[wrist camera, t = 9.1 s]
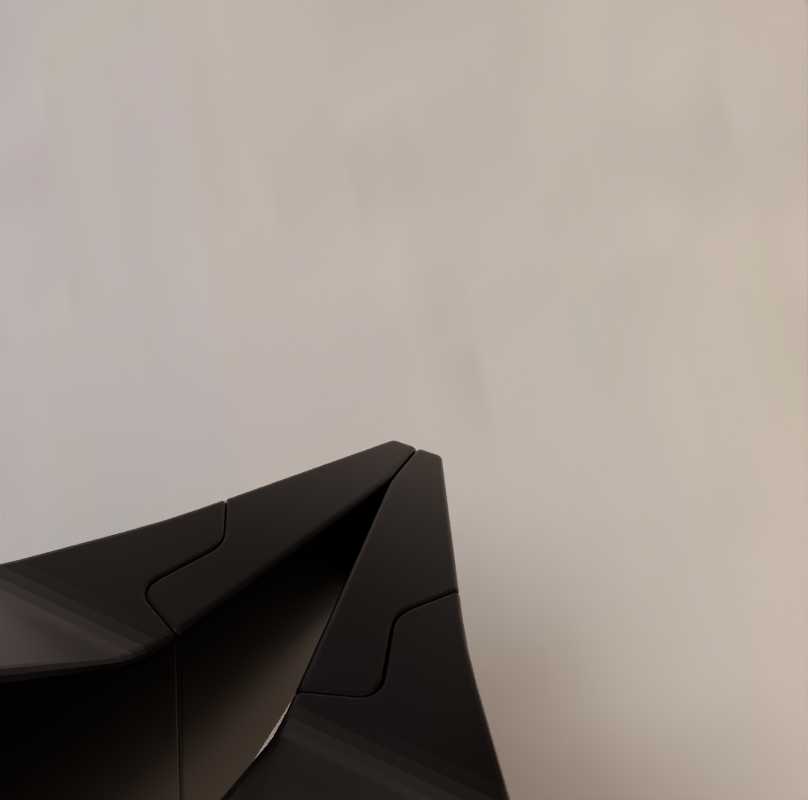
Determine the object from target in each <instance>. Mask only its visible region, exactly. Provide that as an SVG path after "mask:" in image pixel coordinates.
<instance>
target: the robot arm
mask: <svg viewBox="0 0 808 800" xmlns="http://www.w3.org/2000/svg"><path fill="white" fill-rule="evenodd" d="M458 594H459V590H458V582H457V574H456V566H455V558H454V550H453V543H452V535H451V527H450V519H449V511H448V504H447V496H446V488H445V480H444V472H443V464H442V459H441V457H440V456H438V455H436V454H433V453H430V452H427V451H424V450H417V451H416V449H415V448H414V447H412V446H409V445H406V444H403V443H400V442H398V441H390V442H387V443H384V444H381V445H379V446H376V447H373V448H370V449H367V450H364V451H362V452H359V453H356V454H353V455H350V456H348V457H345V458H342V459H339V460H336V461H334V462H331V463H328V464H325V465H322V466H319V467H317V468H314V469H311V470H308V471H305V472H303V473H300V474H297V475H294V476H291V477H288V478H286V479H283V480H280V481H277V482H274V483H272V484H269V485H266V486H263V487H260V488H258V489H255V490H252V491H249V492H246V493H243V494H241V495H238V496H235V497H232V498H229V499H227V501H226V503H225V502H224V501H220V502H218V503H215V504H212V505H209V506H206V507H204V508H201V509H198V510H195V511H192V512H189V513H186V514H183V515H180V516H176V517H173V518H170V519H167V520H164V521H161V522H157V523H154V524H150V525H147V526H143V527H140V528H136V529H133V530H129V531H126V532H122V533H119V534H115V535H111V536H107V537H104V538H100V539H96V540H92V541H88V542H85V543H81V544H77V545H73V546H70V547H66V548H62V549H58V550H55V551H51V552H47V553H43V554H40V555H36V556H32V557H28V558H25V559H21V560H17V561H12V562H8V563H4V564H0V800H510V798H509V794H508V791H507V788H506V784H505V781H504V777H503V774H502V770H501V767H500V764H499V760H498V757H497V753H496V750H495V746H494V743H493V739H492V736H491V732H490V729H489V725H488V722H487V718H486V715H485V712H484V708H483V705H482V701H481V698H480V694H479V691H478V687H477V683H476V679H475V675H474V671H473V667H472V663H471V660H470V656H469V652H468V647H467V641H466V635H465V630H464V624H463V618H462V611H461V603H460V596H459V595H458ZM295 694H296V695H295ZM292 699H293V700H292ZM291 700H292V702H291ZM290 702H291V704H290ZM289 704H290V706H289V708H288V710H287V712H286V714H285V716H284V718H283V720H282V722H281V724H280V726H279V727H278V729H277V731H276V733H275V734H274V736H273V738H272V739H271V740H270V742H269V743H268V744H267V746H266V747H265V748H264V749H263V750H262V752H261V753H260V754H259V755H258V756H257V754H258V753H259V751H260V749H261V748H262V746H263V745H264V743H265V742H266V740H267V738H268V737H269V735H270V734H271V732H272V730H273V729H274V727H275V726H276V724H277V723H278V721H279V719H280V718H281V716H282V715H283V713H284V711H285V710H286V708H287V707H288V705H289ZM256 756H257V758H256V759H255V757H256ZM254 759H255V760H254Z"/></svg>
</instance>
